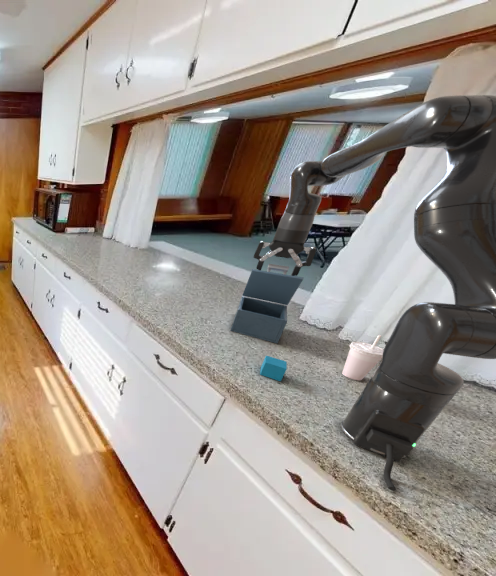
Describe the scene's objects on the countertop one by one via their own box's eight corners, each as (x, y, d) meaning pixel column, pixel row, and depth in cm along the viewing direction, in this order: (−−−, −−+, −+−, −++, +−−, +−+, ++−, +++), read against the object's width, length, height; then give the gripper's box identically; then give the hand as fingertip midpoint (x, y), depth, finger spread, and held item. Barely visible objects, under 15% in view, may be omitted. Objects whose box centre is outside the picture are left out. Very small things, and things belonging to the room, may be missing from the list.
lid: (303, 279, 94) (306, 265, 96) (251, 270, 102) (256, 258, 104) (287, 305, 105) (290, 292, 106) (242, 295, 113) (246, 284, 114)
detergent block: (280, 381, 82) (286, 369, 81) (259, 374, 85) (265, 362, 83) (280, 373, 85) (286, 361, 83) (260, 367, 88) (266, 355, 86)
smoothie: (360, 385, 80) (387, 343, 74) (329, 371, 86) (352, 330, 80) (375, 381, 82) (402, 338, 76) (344, 366, 87) (367, 326, 82)
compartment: (277, 343, 99) (287, 321, 95) (230, 330, 107) (238, 309, 103) (277, 326, 108) (287, 305, 105) (234, 315, 116) (242, 295, 113)
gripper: (264, 226, 98) (248, 271, 104) (327, 232, 89) (304, 281, 95) (265, 222, 103) (249, 266, 109) (324, 228, 94) (303, 275, 100)
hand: (275, 273), depth 102 cm, fingers open, 8 cm apart
